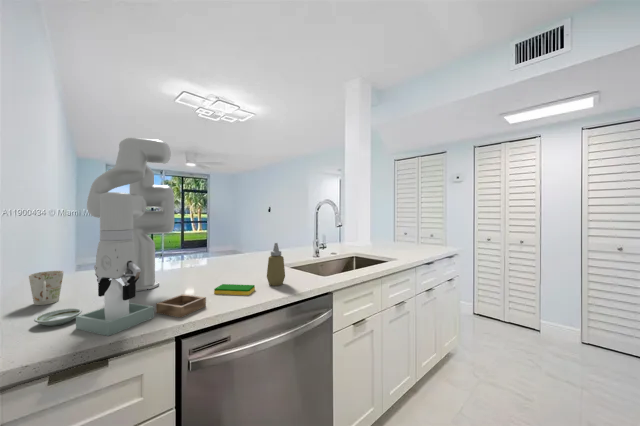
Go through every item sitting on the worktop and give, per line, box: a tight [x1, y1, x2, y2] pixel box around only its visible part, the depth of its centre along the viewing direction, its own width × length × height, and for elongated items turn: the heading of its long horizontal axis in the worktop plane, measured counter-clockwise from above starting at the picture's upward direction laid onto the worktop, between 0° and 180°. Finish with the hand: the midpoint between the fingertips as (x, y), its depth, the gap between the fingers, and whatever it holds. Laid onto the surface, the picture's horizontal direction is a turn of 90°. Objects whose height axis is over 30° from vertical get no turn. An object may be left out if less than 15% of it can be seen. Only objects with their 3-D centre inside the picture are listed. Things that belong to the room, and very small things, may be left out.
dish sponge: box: [213, 283, 256, 296], centre depth 105 cm, size 7×14×2 cm, turn 84°
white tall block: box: [103, 279, 130, 321], centre depth 76 cm, size 6×12×6 cm
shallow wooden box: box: [155, 293, 207, 318], centre depth 86 cm, size 10×10×3 cm
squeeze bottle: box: [266, 242, 286, 287], centre depth 116 cm, size 8×8×18 cm
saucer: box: [33, 307, 83, 327], centre depth 76 cm, size 10×10×2 cm
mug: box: [28, 270, 64, 306], centre depth 91 cm, size 8×13×10 cm, turn 45°
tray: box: [75, 301, 155, 337], centre depth 76 cm, size 13×13×3 cm
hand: (116, 296), depth 76 cm, fingers open, 9 cm apart
